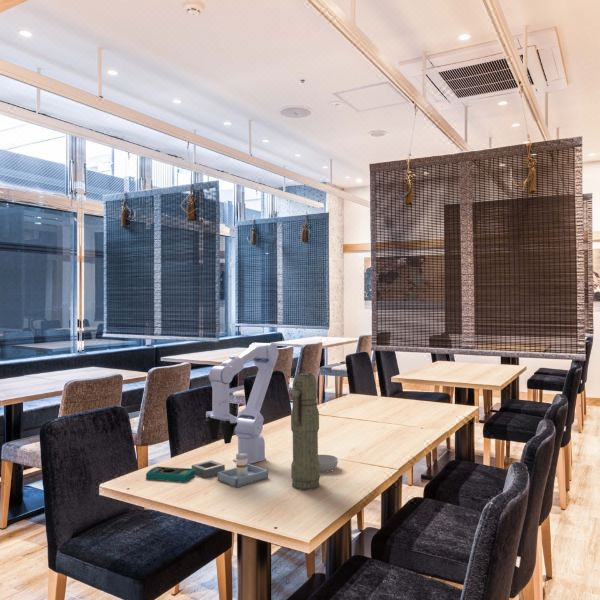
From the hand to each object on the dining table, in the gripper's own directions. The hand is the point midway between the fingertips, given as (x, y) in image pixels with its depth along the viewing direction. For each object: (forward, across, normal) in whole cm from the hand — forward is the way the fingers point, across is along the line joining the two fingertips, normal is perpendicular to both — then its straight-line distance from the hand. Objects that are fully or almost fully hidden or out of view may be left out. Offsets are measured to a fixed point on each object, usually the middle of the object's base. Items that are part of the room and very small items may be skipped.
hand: (220, 441), depth 186 cm
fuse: (+10, +12, 0) cm, 15 cm away
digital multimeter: (+11, -8, -15) cm, 20 cm away
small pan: (+10, +19, +26) cm, 34 cm away
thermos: (+10, +31, +10) cm, 34 cm away
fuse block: (+10, -2, -3) cm, 11 cm away
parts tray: (+10, +12, 0) cm, 16 cm away
